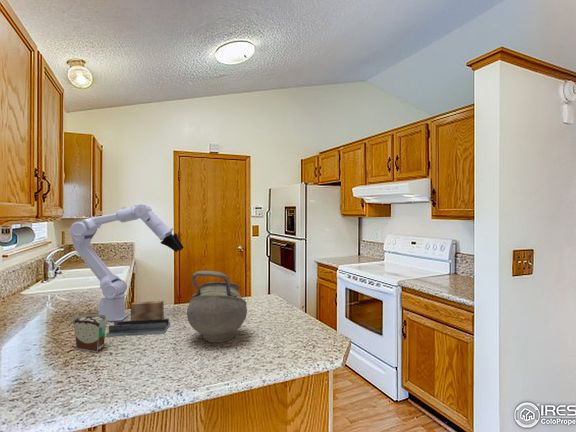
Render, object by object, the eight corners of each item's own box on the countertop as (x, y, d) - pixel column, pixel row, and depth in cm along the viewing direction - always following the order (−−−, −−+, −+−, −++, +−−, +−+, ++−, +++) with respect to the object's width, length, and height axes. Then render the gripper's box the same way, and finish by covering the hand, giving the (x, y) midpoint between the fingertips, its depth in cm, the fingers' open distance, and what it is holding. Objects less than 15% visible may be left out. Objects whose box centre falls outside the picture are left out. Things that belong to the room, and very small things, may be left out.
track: (106, 336, 118) (106, 328, 118) (117, 327, 128) (117, 319, 128) (164, 333, 120) (164, 325, 120) (170, 324, 130) (170, 316, 130)
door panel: (130, 324, 132) (130, 304, 132) (133, 321, 134) (133, 302, 134) (162, 322, 133) (161, 302, 133) (163, 320, 136) (163, 301, 136)
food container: (117, 345, 110) (116, 315, 110) (101, 352, 104) (100, 321, 104) (89, 341, 114) (89, 312, 114) (72, 348, 108) (72, 317, 108)
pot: (218, 355, 101) (217, 274, 101) (174, 342, 112) (173, 269, 112) (258, 334, 118) (258, 265, 118) (217, 324, 129) (216, 261, 129)
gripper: (160, 220, 133) (183, 244, 134) (169, 220, 148) (190, 242, 148) (147, 231, 133) (170, 256, 133) (157, 231, 147) (178, 253, 148)
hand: (180, 249), depth 141 cm, fingers open, 7 cm apart
